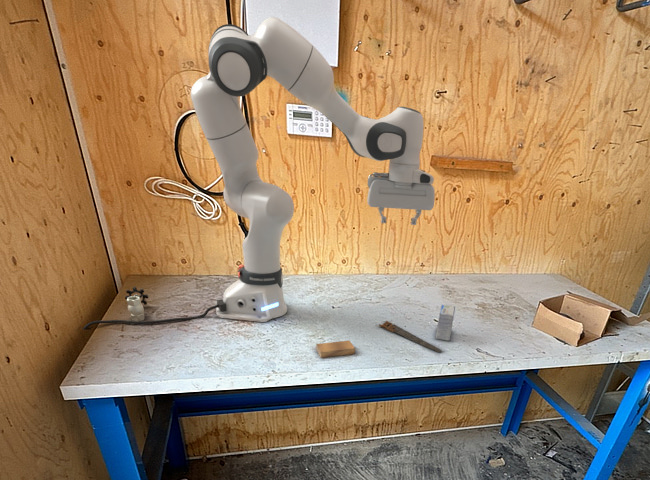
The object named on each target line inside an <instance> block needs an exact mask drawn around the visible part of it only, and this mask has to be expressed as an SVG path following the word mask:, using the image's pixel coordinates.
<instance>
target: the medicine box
mask: <svg viewBox="0 0 650 480" xmlns="http://www.w3.org/2000/svg"><path fill="white" fill-rule="evenodd" d="M455 310H456V306H455V305H449V304H441V306H440V311H439V315H438V321H437V326H436V333H435V340H441V341H448V342H449V341H450V340H451V334H452V329H453V324H454V323H453V322H454V317H455Z"/></svg>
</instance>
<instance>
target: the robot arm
mask: <svg viewBox="0 0 650 480" xmlns="http://www.w3.org/2000/svg"><path fill="white" fill-rule="evenodd" d="M207 53H208V54H207V55H208V69H209V72H208V74H206V75H204V76H202V77H199V78H198V79H197V80H196V81H195V82H194V83H193V85H192V86H191V88H190V99H191V102H192V107H193V109H194V112H195V115H196V118H197V121H198V123H199V126H200V128H201V130H202V132H203V134H204V136H205V139H206V140H207V141H206V142H207V143H208V145H209V147H210V149H211V151H212V154H213V155H214V158H215V160H216V162H217V164H218V167H219V169H220V172H221V175H222V179H223V184H224V187H223V199H224V202H225V204H226V206H227V207H228V208H229V209H230V210H231V211H233V212H234V213H235V214H236V215H238V216H240V217H242V218H244V219H247V220H248V222H249V228H248V233H247V236H245V238H244V239H243V241H242V244H241V247H242V256H243V264H239V266H238V268H237V277H238V279H237V280H236V281H234V282H233V283H232V284H230V285H229V286H228V287H227V288H225V290H224V292H223V296H222V298H221V299H216V304H215V305H212V306H210V307H208V308H207V309H206V310H205V312H204V313H202V314H200V315H197V316H191V317H190V316H189V317H174V318H166V319H158V320H142V321H133V320H125V319H108V320H107V319H106V320H94V321H91V322H88V323H87V324H85V325H84V326H83V327H82V330H88V328H89V327H91V326H92V325H97V324H120V323H121V324H132V325H150V324H162V323H163V324H164V323H170V322H178V321H179V322H181V321H189V320H190V321H191V320H197V319H201V318H204V317H206V316H207V315H208V313H209V312H211V311H212V310H214V309H215V311H216V312H215V313H216V316H217V317H218V318H221V319H228V320H229V319H230V320H238V321H246V322H247V321H249V322H257V323H267V322H268V321H270V320H273V319H276V318H280V317H282V316H284V315H285V314H287V312H288V308H287V304H286V300H285V296H284V291H283V284H284V277H283V276H284V275H283V268H282V267H281V240H282V236H283V232H284V229H285V228H286V226H287V225H288V224H289V223H290V222H291V220H292V218H293V216H294V213H295V204H294V200H293V198H292V196H291V194H290V193H288V192H287V191H285V190H284V189H283V188H281V187H280V186H278V185H276V184H273V183H269V182H265V181H263V180H262V178H261V177H260V175H259V171H258V167H257V161H258V160H259V150H258V147H257V145H256V142H255V140H254V138H253V135H252V132H251V130H250V127H249V125H248V123H247V122H248V121H247V119H246V118H245V115H244V113H243V110H242V108H241V105H240V101H239V97H244V96H247V95H248V94H250V93H251V92H253V91H254V90H255V89H256V88H257V87H258V86H259V85H260V84H261V83H263V81H264V80H266V78H267V77H270V78H271V79H273V80H275V81H276V82H277V83H278V84H279V85H281V87H283V88H284V89H285V90H286V91H287V92H289V93H290V94H291V95H292V96H293V97H295V98H296V99H298V100H299V101H300V102H302V103H304V104H305V105H307V106H309V107H310V108H312V109H314V110H316V111H318V112H319V113H320V114H322V115H323V116H324V117H325V118H326V119H328V120H329V122H331V124H333V125H334V126H335V127H336V128H337V129H338V130H339V131H340V132H341V133H342V134H343V136H344V137H345V139H346V140H347V142H348V145H349V147H350V148H351V150H352V152H353V153H354V154H355V155H357V156H358V157H361V158H365V159H366V158H367V159H369V160H373V161H376V162H383V161H388V160H389V163H388V172H376V171H374V172H373V173H371V174H369V175H368V177H367V188H368V190H367V191H368V192H367V198H366V199H367V201H366V202H367V205H368V206H369V207H370V208H377V210H378V214H379V215H380V224H387V216H385V215H384V214H383V212H384V211H385V209H398V210H399V209H400V210H415V215H414V216H413V217H410V225H411V226H416V225H417V220H418V219H419V218H420V216H421V215H422V211H431V210H432V209H434V207H435V195H436V194H435V187H434V185H432V184H433V183H434V181H435V178H434V176H433V174H431V173H429V172H426V171H425V170H423V169H420V166H421V161H420V159H421V158H420V154H421V151H422V147H423V142H424V141H423V140H424V127H425V126H424V117H423V115H422V113H421V112H420V111H418V110H416V109H414V108H411V107H406V106H397V107H396V109H394V110H393V111H392V112H390V113H389V114H387V115H385V116H383V117H380V118H378V119H377V118H376V119H375V118H371V117H368V116H364V115H361V114H359V113H358V112H356V110H355V109H354V108H353V107H352V106H351V105H350V104H349V103H348V102H347V101H346V100H345V99H344V98H343V97H342V96H341V95H340V94H339V92H337V89H336V88H335V74H334V71H333V68H332V66H331V65H330V64H329V62H328V61H327V59H326V57H324V55H322V53H321V52H320V51H319V50H318V49H317V48H316V47H315V46H314V45H313V44H312V43H311V42H310V41H309V40H308V39H307V38H306V37H304V35H302V34H301V33H300V32H299V31H298V30H296V29H295V28H294V27H292V26H290V24H288V23H287V22H285V21H283V20H282V19H280V18H278V17H276V16H270V17H268V18H266V19H264V20H263V21H262V22H261V23H260V24H259V26H258V27H257V28H256V31H255V32H254V33H253V34H249V33H247V31H246V30H245V29H243V28H242V27H240V26H239V25H236V24H231V23H226V24H222V25H220V26H219V27H217V28H216V29H215V30H214V32H213V33H212V35H211V38H210V41H209V43H208V49H207Z"/></svg>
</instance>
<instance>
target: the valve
mask: <svg viewBox="0 0 650 480" xmlns="http://www.w3.org/2000/svg"><path fill="white" fill-rule="evenodd" d="M125 293H126V294H128V295H125V296H124V300H125V301H126V302H127V310H128V313H129V314H130V318H131V321H145V313H144V311H145V307H144V306H146V305H147V304H148V301H147V300H146V299H149V294H147V293H146V294H144V293H145V289H144V288H140V290H138V287H137V286H132V290H130V289H126V292H125ZM135 293H136V294H135ZM137 293H138V294H137ZM132 294H134V295H132ZM139 294H140V295H139ZM141 298H142V299H141Z"/></svg>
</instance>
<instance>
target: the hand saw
mask: <svg viewBox="0 0 650 480" xmlns="http://www.w3.org/2000/svg"><path fill="white" fill-rule="evenodd" d="M378 326H379V327H380V328H382V329H385V330H387V331H389V332H391V333H395V334H397V335H400V336H402V337H404V338H406V339H407V340H410V341H413V342H415V343H416V344H419V345H421V346H424V347H426V348H428V349H430V350H432V351H434V352H436V353H440V352H442V351H443V350H442V349H440V348H438V347H436V346H435V345H433V344H432V343H429V342H428V341H426V340H424V339H422V338H421V337H418V336H416V335H414V334H413V333H412V332H409V331H407V330H406V329H404V328H402V327H400V326H398V325H397V324H394V323H392V322H390V321H388V320H385V322H384V323H382V324H380V323H379V324H378Z"/></svg>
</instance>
